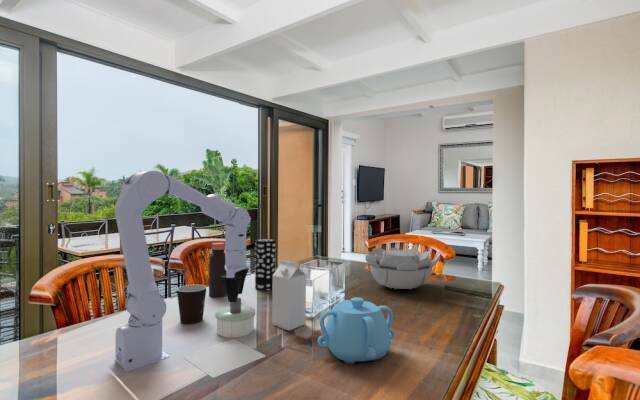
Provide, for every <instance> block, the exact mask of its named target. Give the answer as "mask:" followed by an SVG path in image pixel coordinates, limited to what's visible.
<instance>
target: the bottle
mask: <svg viewBox="0 0 640 400" xmlns="http://www.w3.org/2000/svg"><path fill="white" fill-rule="evenodd" d="M225 243H226V242H212V243H211V251H212V253H211V254H210V255H209V257H208V296H209V297H211V298H222V297H225V296H227V293H226V289H225V286H224V284H223V282H222V280H221V277H222V276H223V275H226V270H225Z"/></svg>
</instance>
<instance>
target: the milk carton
mask: <svg viewBox="0 0 640 400" xmlns="http://www.w3.org/2000/svg"><path fill="white" fill-rule="evenodd" d="M306 276H307V274H306V273H305V272H304V271H303V270H302V269H301V268H300V267H299V262H293V261H288V260H287V261H286V260H284V259H283V260H282V259H281V260H280V264H279V265H278V267H277V268H276V269H275V272H274V274H273V284H272V290H271V291H272V293H271V294H272V303H271V305H272V307H271V309H272V313H271V317H272V319H271V320H272V323H271V324H272V326H274V327H275V328H276V327H277V328H280V329H283V330H286V331H289V332H290V331H292V330H294V329H297V328H300V327H301V326H303V325H306V316H307V315H306V313H307V312H306V310H307V309H306V307H307V306H306V298H307V297H306V296H307V294H306V293H307V291H306V290H307V285H306V284H307V277H306Z"/></svg>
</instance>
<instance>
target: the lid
mask: <svg viewBox="0 0 640 400" xmlns="http://www.w3.org/2000/svg"><path fill="white" fill-rule="evenodd" d="M229 304H230V305H229V306H225V307H222V308H219V309H217V310H216V312H215V313H214V317H215V318H216V320H217V319H218V320H221V321H227V322H235V321H243V320H247V319H250V318H252V317H253V316H254V317H255V316H256V309H255V308H254V307H252V306H247V305H242V298H241V297H238V298H237V301H236V302H229Z"/></svg>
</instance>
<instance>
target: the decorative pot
mask: <svg viewBox="0 0 640 400" xmlns="http://www.w3.org/2000/svg"><path fill="white" fill-rule="evenodd" d="M383 311H387V319H386V318H385V315H384V313H383ZM326 318H327V321H326V324H325V319H326ZM393 319H394V312H393V310H392V309H391V308H390V307H389V306H386V305H378V306H377V305H376V304H375V303H373V302H370V301H366V300H365V299H364V298H363V297H352V298H350V299H345V300H343V301H342V302H339V303H335V304H334V306H333V308H332V309H327V310H326V311H324V312H322V313H321V315H320V316H319V327H320V330H321V333H322V334H323V335H319V336H318V338H317V344H318V346H319V347H321V348H328V350H329V351H330V352H331V353H332V354H333V356H335V357H336V358H337V359H338V360H341V361H343V362H344V363H345V362H346V364H348V363H352V364H354V363H356V362H368V361H377V360H376V359H379V358H380V359H381V358H383V357H384V356H385V355H386V354H387V353H388V352H389V350H390V349H391V346H392V339H394V337H395V331H394V330H393V329H392V328H391V326H392V324H393ZM323 339H324V341H322V340H323ZM380 359H379V360H380ZM353 362H354V363H353Z"/></svg>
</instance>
